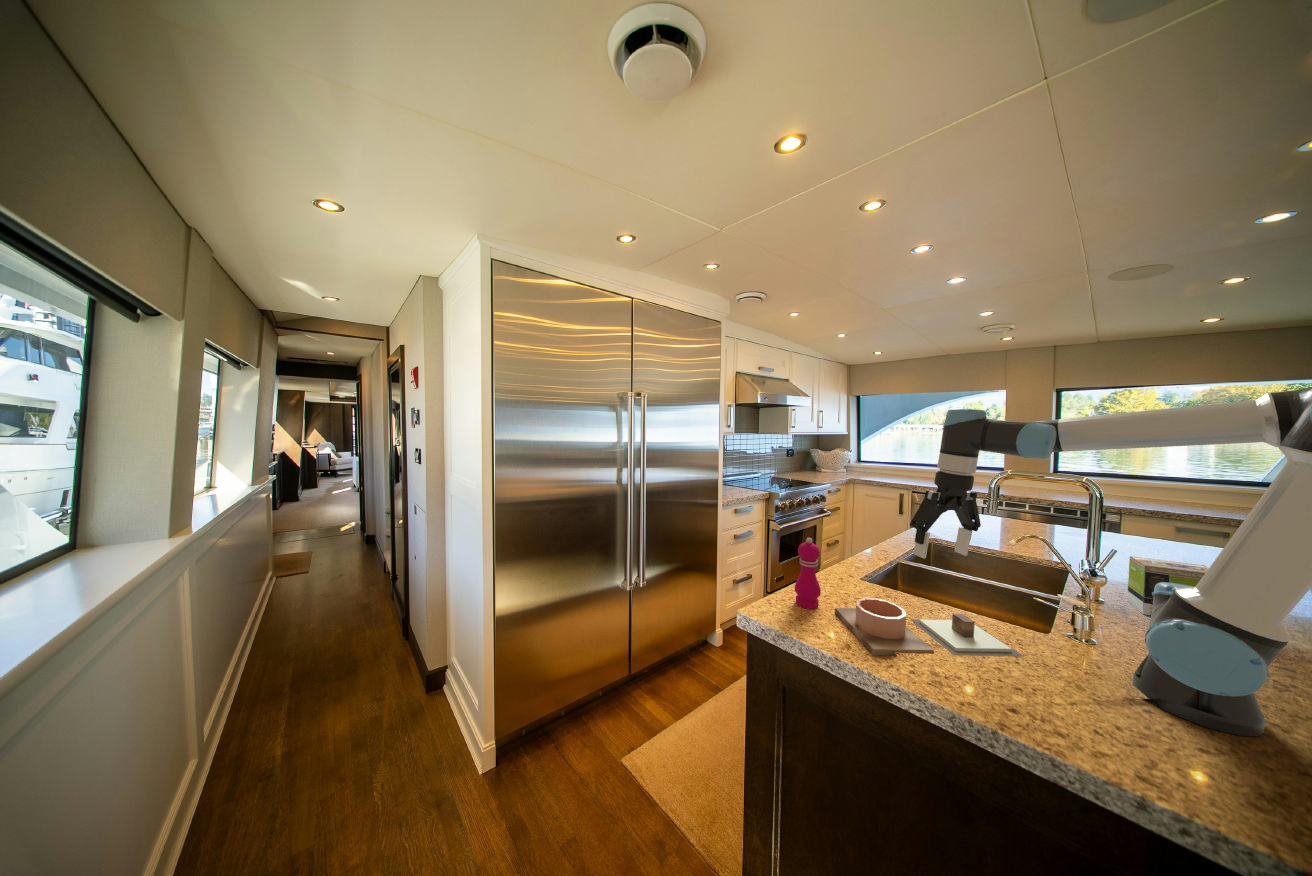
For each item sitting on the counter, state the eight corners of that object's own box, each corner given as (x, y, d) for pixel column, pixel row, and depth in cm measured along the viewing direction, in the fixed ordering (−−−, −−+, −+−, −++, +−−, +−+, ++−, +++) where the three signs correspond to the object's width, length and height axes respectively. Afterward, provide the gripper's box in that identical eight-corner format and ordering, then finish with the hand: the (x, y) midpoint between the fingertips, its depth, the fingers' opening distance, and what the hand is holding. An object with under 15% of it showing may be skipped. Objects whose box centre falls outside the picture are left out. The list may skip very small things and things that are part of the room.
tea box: (1202, 615, 114) (1207, 564, 113) (1226, 630, 106) (1231, 576, 105) (1125, 601, 122) (1129, 554, 121) (1141, 614, 114) (1145, 564, 113)
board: (933, 656, 92) (933, 649, 92) (873, 655, 92) (873, 648, 92) (884, 613, 112) (884, 608, 112) (834, 612, 112) (835, 607, 112)
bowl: (914, 638, 96) (915, 619, 96) (869, 638, 96) (870, 618, 96) (888, 616, 107) (889, 598, 107) (848, 615, 107) (848, 597, 107)
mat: (1023, 660, 91) (1023, 655, 91) (954, 659, 91) (954, 654, 91) (968, 623, 107) (969, 620, 107) (909, 622, 107) (909, 619, 107)
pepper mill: (822, 611, 113) (825, 542, 112) (795, 608, 114) (798, 540, 113) (817, 600, 120) (819, 535, 119) (792, 597, 121) (794, 533, 120)
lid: (1011, 651, 92) (1012, 632, 92) (955, 651, 92) (957, 631, 92) (967, 623, 105) (968, 605, 105) (919, 622, 105) (920, 604, 105)
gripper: (976, 469, 103) (962, 546, 106) (901, 467, 96) (888, 550, 99) (1008, 475, 96) (992, 558, 99) (930, 475, 89) (915, 564, 92)
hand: (940, 554), depth 99 cm, fingers open, 13 cm apart
